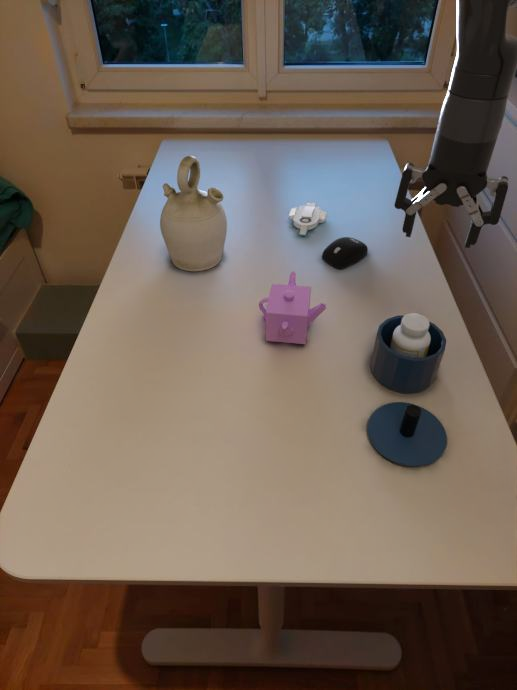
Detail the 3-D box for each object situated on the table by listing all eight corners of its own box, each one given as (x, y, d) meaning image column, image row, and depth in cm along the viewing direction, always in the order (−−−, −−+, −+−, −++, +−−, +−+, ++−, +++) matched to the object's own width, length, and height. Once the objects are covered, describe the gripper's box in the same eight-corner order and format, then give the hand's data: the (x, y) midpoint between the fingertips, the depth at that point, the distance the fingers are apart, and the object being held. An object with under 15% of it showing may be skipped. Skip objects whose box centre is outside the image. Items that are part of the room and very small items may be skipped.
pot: (438, 357, 97) (449, 323, 91) (430, 401, 89) (442, 367, 83) (377, 342, 100) (384, 309, 94) (364, 383, 92) (371, 350, 86)
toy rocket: (294, 205, 142) (294, 197, 140) (328, 209, 140) (329, 201, 138) (283, 234, 130) (283, 226, 129) (320, 238, 129) (320, 230, 127)
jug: (241, 253, 124) (237, 153, 107) (199, 283, 115) (188, 179, 98) (195, 234, 131) (185, 137, 113) (152, 261, 122) (134, 160, 104)
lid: (449, 417, 86) (459, 392, 81) (441, 479, 77) (452, 454, 73) (374, 398, 89) (380, 372, 85) (359, 454, 81) (364, 429, 76)
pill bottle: (415, 355, 96) (428, 308, 88) (425, 380, 92) (440, 333, 84) (381, 357, 96) (392, 310, 88) (390, 382, 91) (402, 335, 83)
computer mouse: (374, 254, 123) (377, 240, 120) (340, 272, 118) (341, 257, 115) (352, 241, 127) (354, 227, 125) (317, 258, 122) (319, 244, 119)
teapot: (321, 366, 95) (325, 327, 89) (252, 359, 97) (251, 321, 90) (325, 306, 108) (329, 269, 102) (264, 302, 110) (264, 264, 103)
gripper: (406, 132, 63) (385, 243, 74) (527, 147, 60) (486, 262, 71) (415, 113, 68) (394, 219, 80) (527, 125, 65) (488, 236, 76)
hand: (437, 239), depth 75 cm, fingers open, 8 cm apart
